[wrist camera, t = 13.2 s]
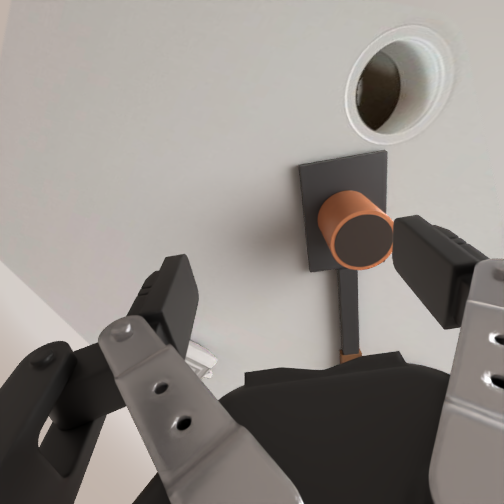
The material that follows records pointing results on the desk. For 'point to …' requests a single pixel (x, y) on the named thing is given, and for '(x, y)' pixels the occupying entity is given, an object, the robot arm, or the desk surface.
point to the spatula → (319, 255)
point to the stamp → (200, 360)
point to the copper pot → (355, 230)
